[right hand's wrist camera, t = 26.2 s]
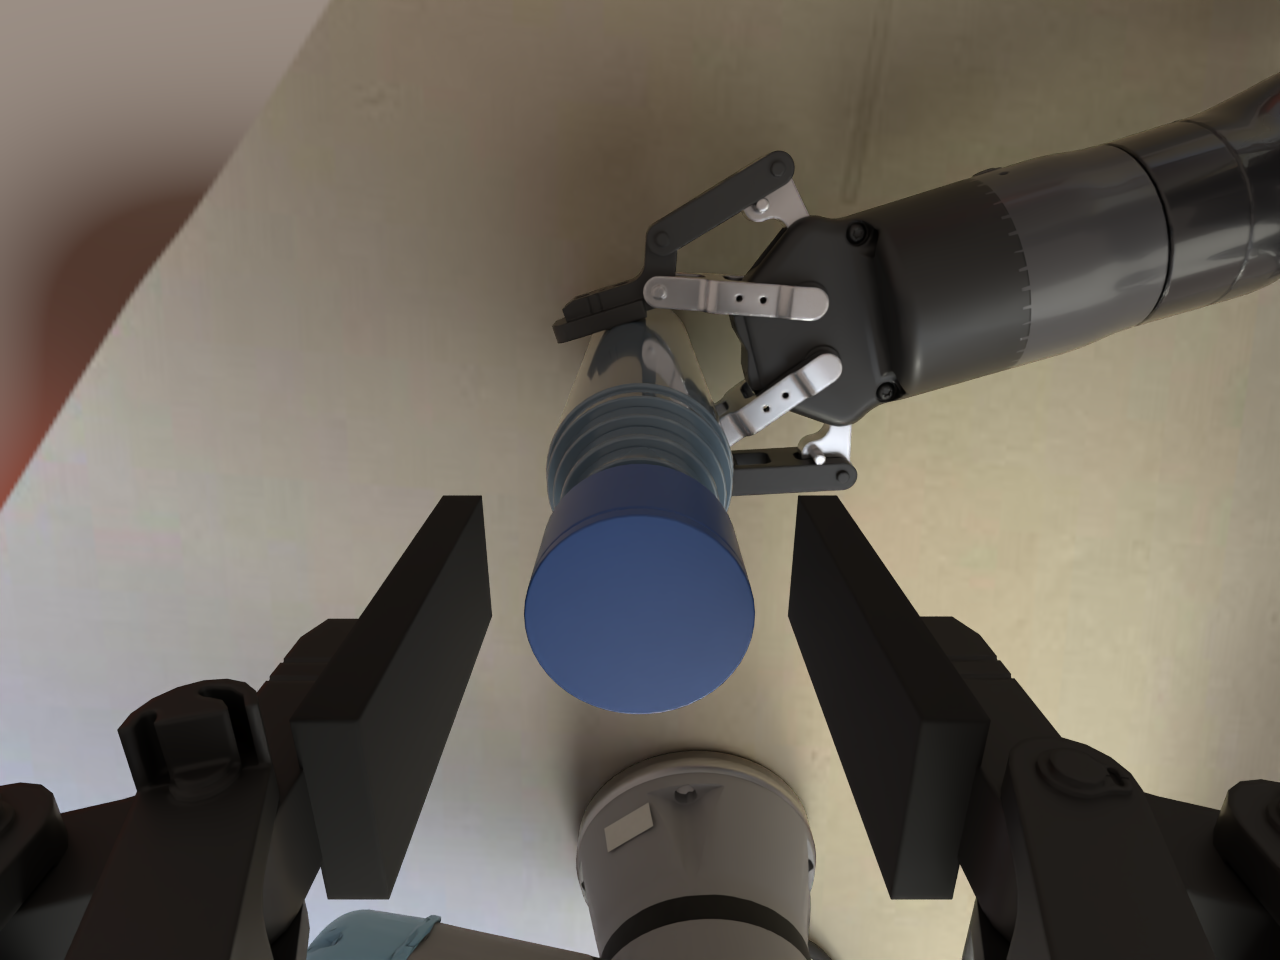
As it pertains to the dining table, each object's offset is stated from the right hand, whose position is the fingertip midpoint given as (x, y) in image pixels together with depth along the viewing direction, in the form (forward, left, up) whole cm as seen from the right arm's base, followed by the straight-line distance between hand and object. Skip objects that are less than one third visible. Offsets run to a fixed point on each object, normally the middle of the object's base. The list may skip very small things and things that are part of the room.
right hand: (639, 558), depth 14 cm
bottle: (0, 0, -23) cm, 23 cm away
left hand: (+1, +2, -16) cm, 16 cm away
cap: (0, 0, +2) cm, 2 cm away
